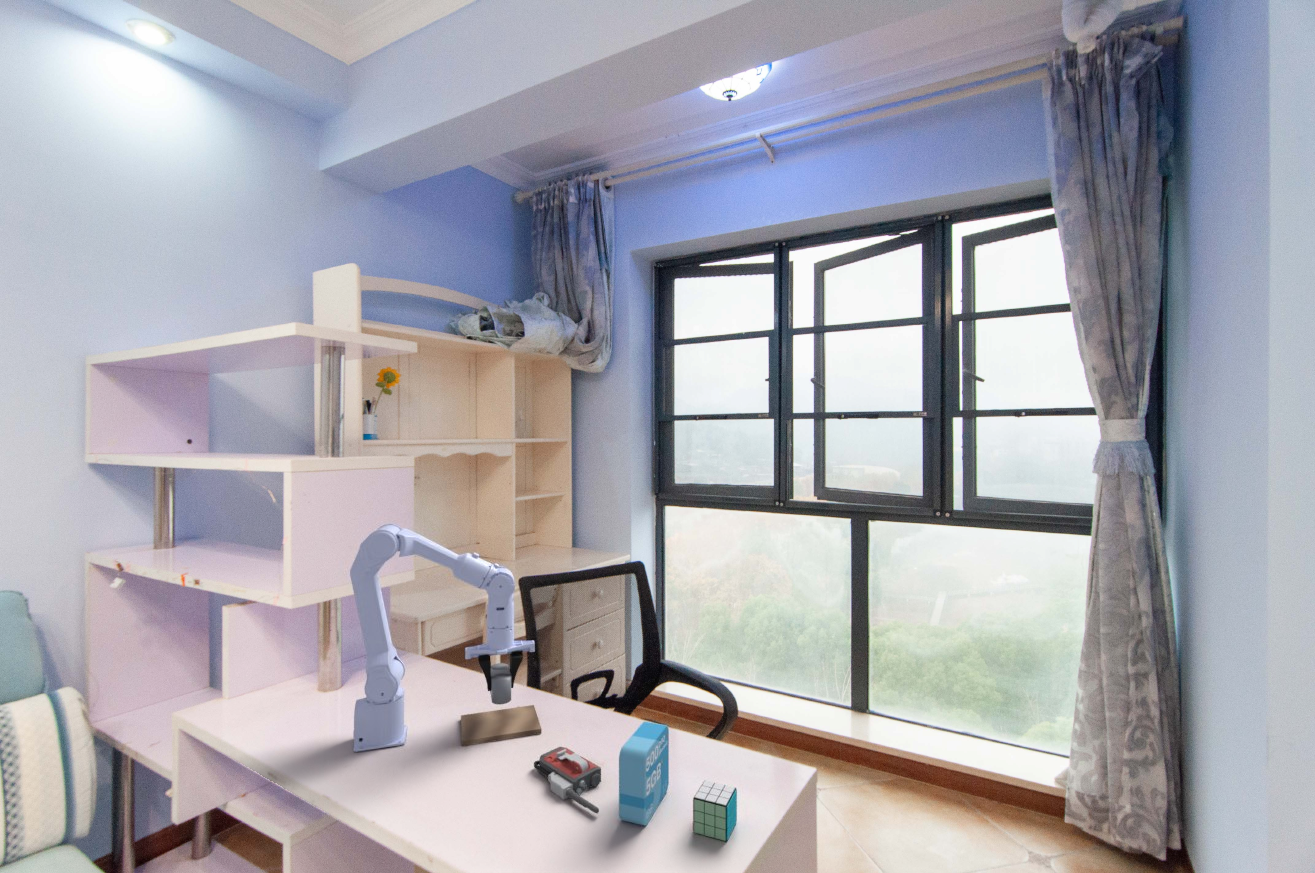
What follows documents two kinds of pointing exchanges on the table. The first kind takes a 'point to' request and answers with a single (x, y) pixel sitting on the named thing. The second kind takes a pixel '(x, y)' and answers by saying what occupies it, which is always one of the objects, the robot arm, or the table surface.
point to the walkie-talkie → (569, 774)
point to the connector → (500, 683)
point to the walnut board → (499, 725)
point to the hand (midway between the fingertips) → (500, 687)
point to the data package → (643, 772)
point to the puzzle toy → (715, 810)
